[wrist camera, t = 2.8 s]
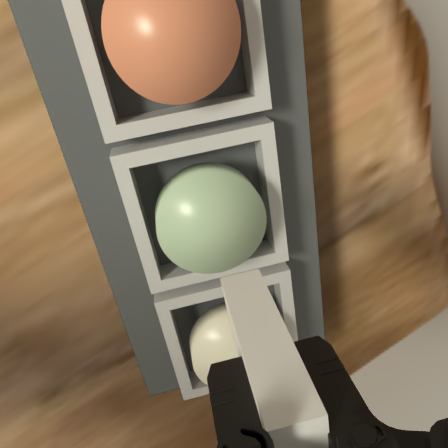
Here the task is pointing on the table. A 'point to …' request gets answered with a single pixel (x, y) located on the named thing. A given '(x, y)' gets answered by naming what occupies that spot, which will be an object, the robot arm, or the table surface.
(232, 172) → the sage button
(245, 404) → the robot arm
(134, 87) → the terracotta button
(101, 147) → the button panel
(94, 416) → the table surface
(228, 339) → the cream button
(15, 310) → the table surface
